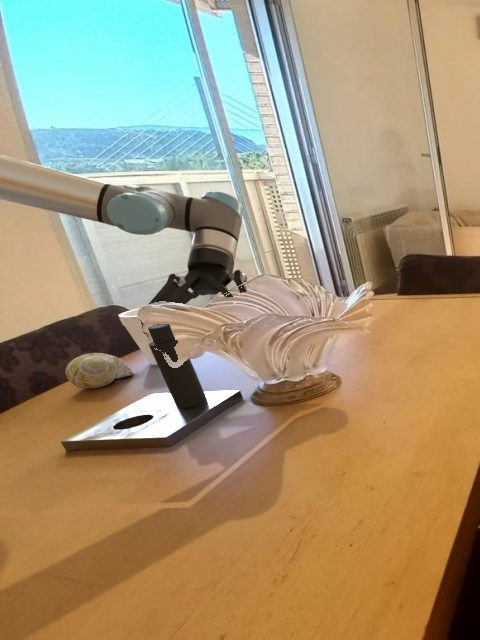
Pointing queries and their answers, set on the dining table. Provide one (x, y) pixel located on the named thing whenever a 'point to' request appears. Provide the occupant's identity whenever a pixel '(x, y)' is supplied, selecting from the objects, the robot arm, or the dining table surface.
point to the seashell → (96, 370)
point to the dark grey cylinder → (175, 369)
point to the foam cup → (137, 333)
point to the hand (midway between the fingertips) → (195, 343)
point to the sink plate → (151, 423)
